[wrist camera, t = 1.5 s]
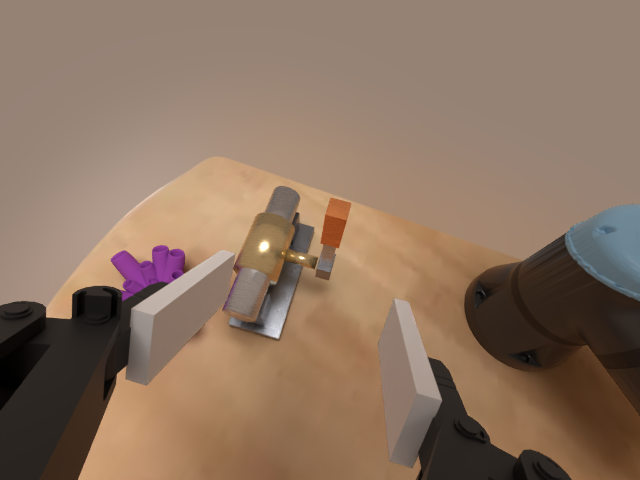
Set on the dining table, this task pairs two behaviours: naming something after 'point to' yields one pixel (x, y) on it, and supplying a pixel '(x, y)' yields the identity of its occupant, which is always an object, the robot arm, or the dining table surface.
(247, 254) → the valve stand
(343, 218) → the lever
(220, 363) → the dining table surface
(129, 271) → the purple tube coral
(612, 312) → the robot arm
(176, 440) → the dining table surface
